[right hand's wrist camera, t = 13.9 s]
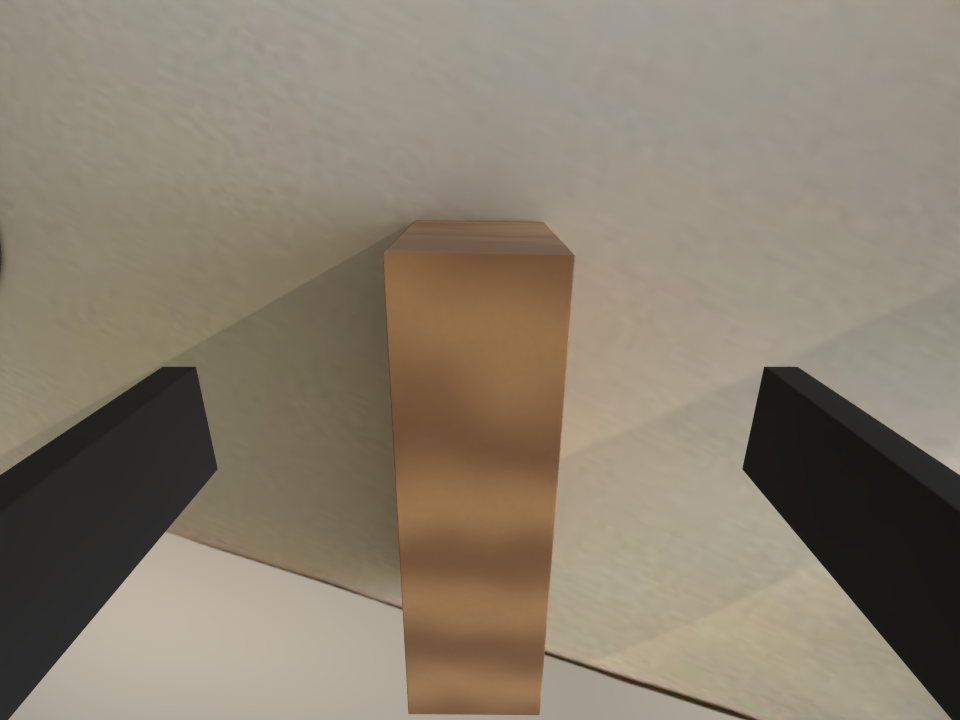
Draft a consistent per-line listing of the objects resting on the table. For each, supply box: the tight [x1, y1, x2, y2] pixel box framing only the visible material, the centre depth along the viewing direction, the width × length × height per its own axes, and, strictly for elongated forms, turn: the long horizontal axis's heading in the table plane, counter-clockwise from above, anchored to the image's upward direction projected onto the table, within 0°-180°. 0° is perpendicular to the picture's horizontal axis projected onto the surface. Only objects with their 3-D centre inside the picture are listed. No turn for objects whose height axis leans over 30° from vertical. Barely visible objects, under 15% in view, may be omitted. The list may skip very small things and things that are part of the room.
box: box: [383, 221, 575, 715], centre depth 34 cm, size 30×8×12 cm, turn 179°
